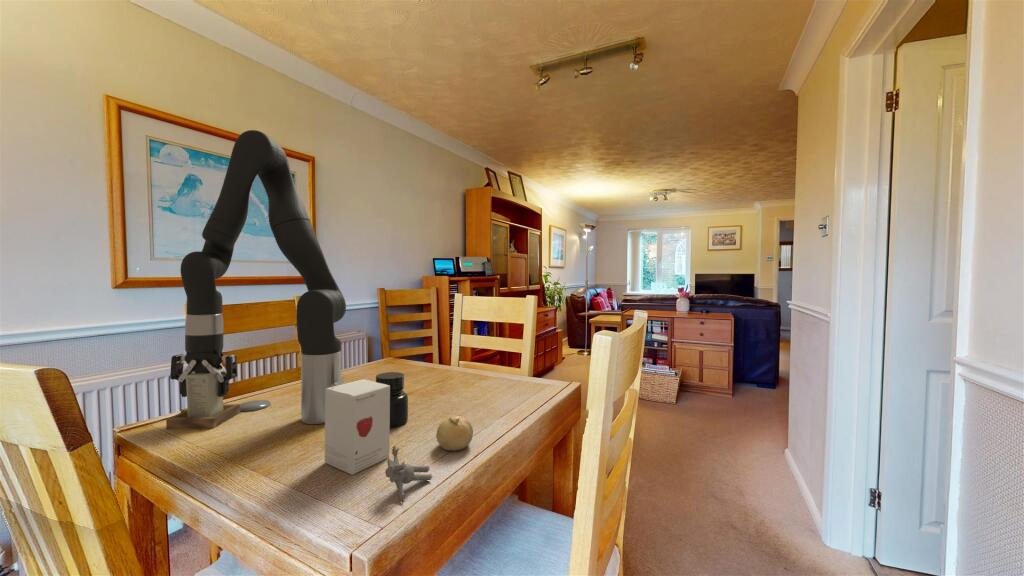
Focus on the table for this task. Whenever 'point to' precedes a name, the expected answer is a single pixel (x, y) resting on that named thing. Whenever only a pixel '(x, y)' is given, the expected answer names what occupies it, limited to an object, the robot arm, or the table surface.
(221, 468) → the table surface
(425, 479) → the grey toy figurine
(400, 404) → the ink bottle
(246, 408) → the coaster
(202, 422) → the brown square shallow tray
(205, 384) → the skincare box
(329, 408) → the supplement box
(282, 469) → the table surface
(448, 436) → the onion
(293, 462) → the table surface
